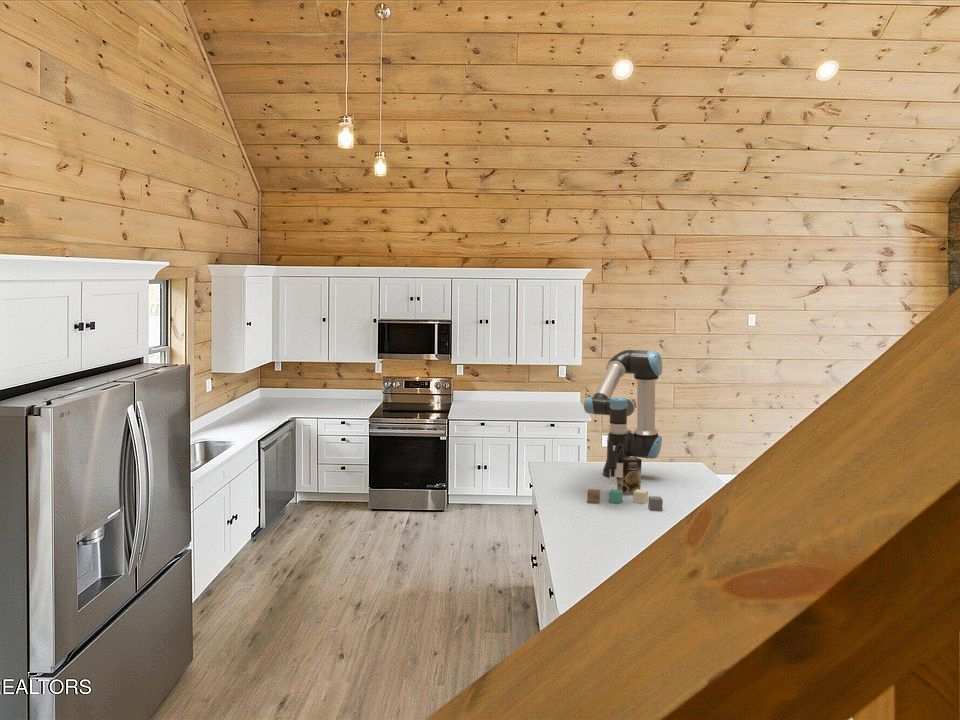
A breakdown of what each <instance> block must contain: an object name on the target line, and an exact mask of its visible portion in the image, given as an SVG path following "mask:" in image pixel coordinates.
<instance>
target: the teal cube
mask: <svg viewBox="0 0 960 720" xmlns="http://www.w3.org/2000/svg"><path fill="white" fill-rule="evenodd" d="M623 495H624V494H623V490H617V489H613V488H611V489H610V490H609V492H608V503H610V504H617V505H620V504H622V502H623V498H624V497H623Z"/></svg>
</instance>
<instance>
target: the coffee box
mask: <svg viewBox="0 0 960 720" xmlns="http://www.w3.org/2000/svg"><path fill="white" fill-rule="evenodd" d="M624 461H625V463H623V478H619V477H618V478H617V481H616V487H617V488H616V490H623V495H633V491H635V490H637V489H640V490H641V482H642V462H643V461H642V458H640V457H632V456H630V457H626V458H624ZM618 463H619V462H618Z"/></svg>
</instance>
